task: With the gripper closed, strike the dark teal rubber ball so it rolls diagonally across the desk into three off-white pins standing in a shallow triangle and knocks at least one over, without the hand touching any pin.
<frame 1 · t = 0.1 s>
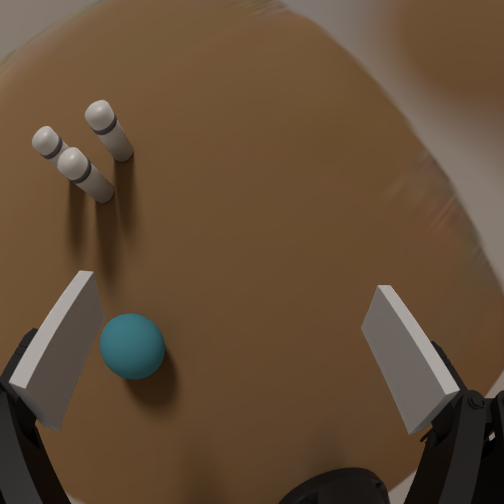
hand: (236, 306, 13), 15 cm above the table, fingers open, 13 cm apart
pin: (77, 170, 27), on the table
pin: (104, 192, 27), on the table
ball: (132, 346, 23), on the table
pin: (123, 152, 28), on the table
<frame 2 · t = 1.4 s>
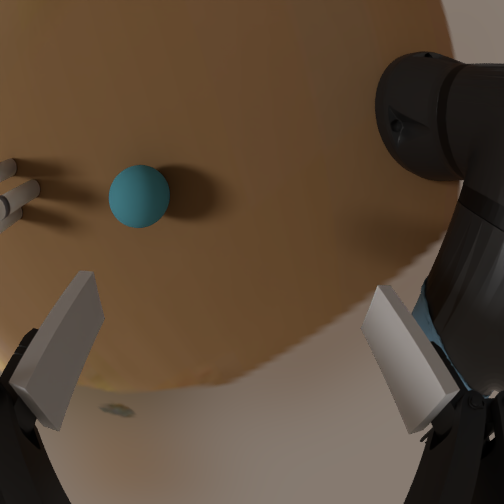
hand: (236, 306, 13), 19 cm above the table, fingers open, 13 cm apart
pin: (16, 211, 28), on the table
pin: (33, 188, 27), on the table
ball: (139, 196, 26), on the table
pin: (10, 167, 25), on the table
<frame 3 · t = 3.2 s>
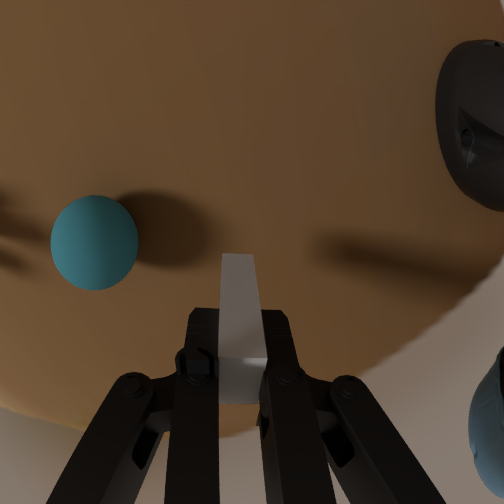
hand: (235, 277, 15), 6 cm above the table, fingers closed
ball: (94, 242, 16), on the table
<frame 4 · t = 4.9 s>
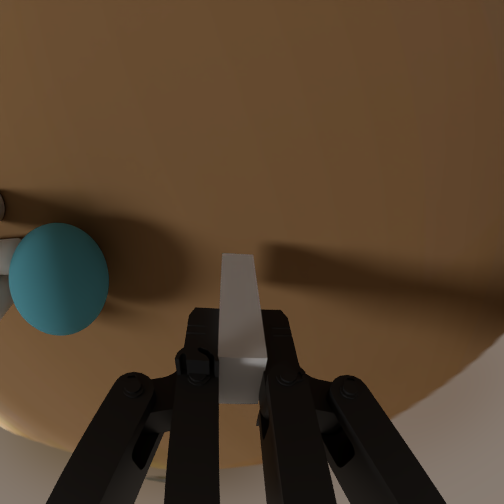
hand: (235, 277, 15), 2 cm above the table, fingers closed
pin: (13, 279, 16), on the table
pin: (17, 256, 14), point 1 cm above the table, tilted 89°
ball: (57, 279, 13), on the table
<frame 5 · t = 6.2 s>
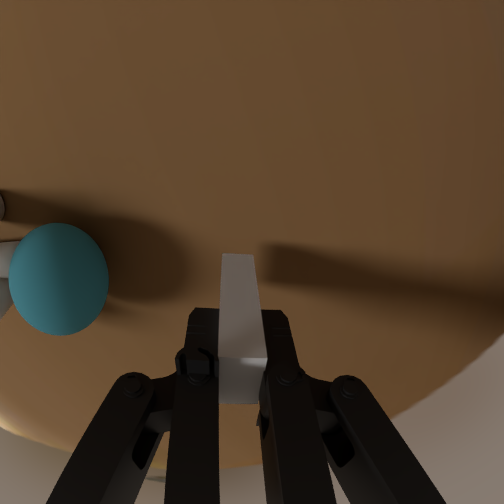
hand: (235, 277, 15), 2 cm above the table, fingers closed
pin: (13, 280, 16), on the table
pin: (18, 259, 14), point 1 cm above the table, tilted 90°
ball: (57, 279, 13), on the table
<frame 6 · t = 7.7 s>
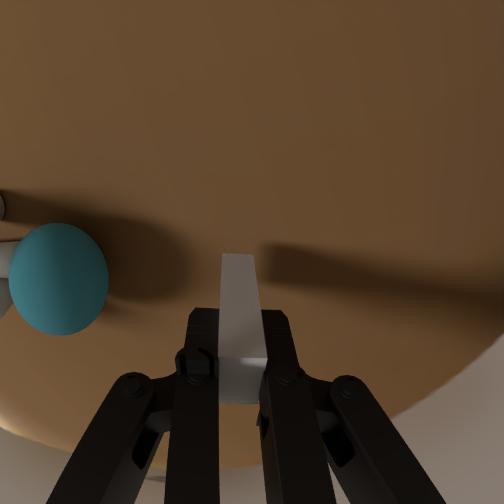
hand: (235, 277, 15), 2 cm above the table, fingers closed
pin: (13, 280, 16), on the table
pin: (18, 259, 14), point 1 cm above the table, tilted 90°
ball: (57, 279, 13), on the table
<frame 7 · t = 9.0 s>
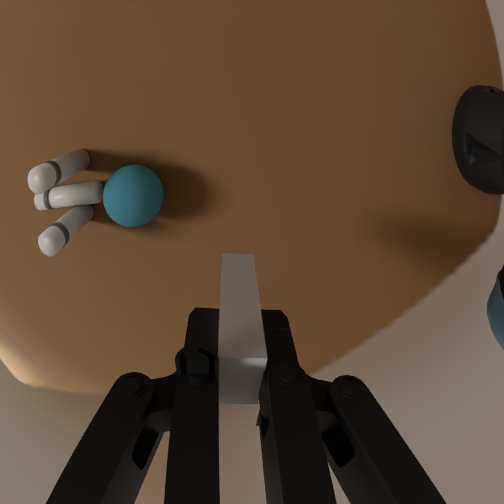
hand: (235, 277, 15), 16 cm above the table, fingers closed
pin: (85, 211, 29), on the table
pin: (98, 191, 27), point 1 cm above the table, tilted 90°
ball: (133, 195, 25), on the table
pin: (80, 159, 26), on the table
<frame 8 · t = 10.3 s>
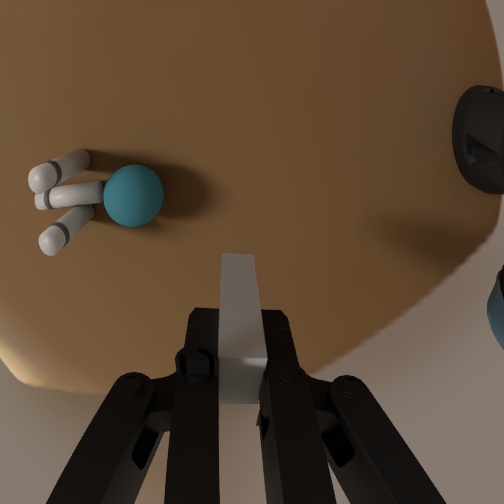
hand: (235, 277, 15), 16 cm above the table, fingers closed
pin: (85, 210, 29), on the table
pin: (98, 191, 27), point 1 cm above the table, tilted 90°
ball: (133, 195, 25), on the table
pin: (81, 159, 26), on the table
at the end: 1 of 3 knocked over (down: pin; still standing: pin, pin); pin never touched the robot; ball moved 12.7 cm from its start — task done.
